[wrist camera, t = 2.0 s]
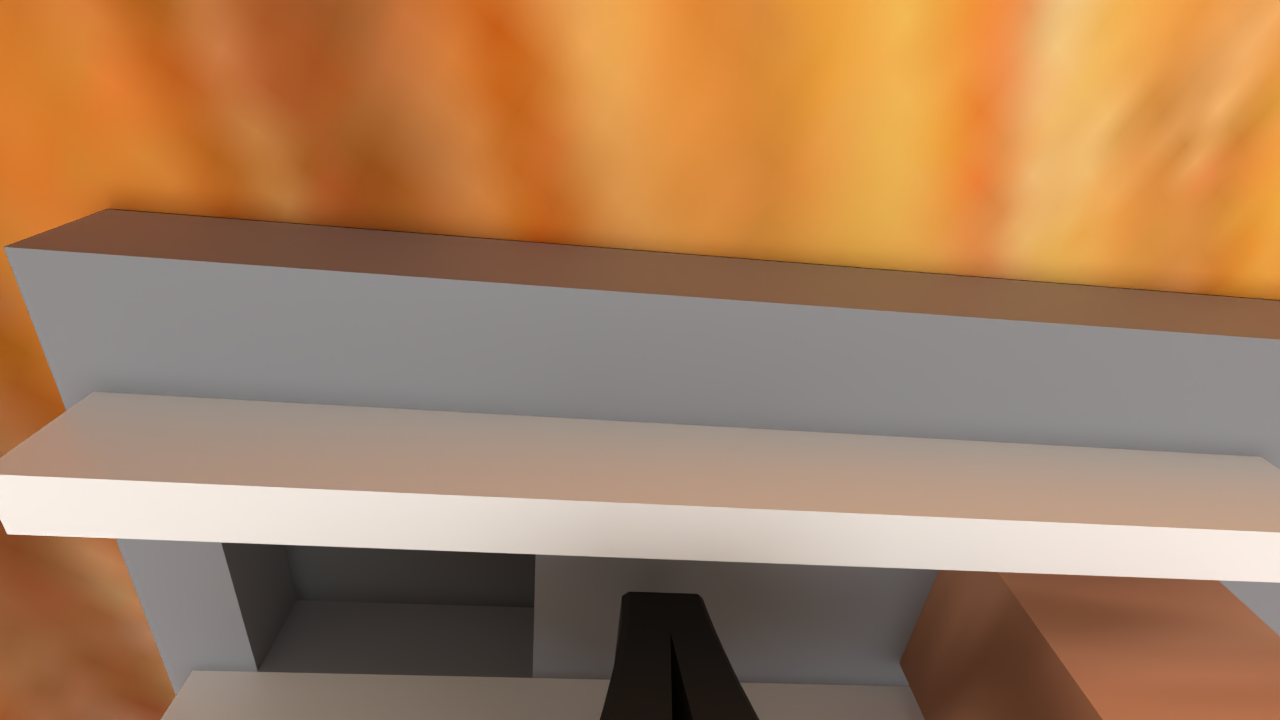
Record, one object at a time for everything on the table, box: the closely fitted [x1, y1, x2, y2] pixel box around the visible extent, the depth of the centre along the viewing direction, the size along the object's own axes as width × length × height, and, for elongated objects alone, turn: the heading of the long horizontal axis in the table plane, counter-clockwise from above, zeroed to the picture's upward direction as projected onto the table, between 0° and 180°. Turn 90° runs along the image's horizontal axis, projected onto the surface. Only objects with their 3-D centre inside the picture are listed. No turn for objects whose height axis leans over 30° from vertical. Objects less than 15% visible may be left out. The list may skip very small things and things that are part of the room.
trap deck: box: [4, 209, 1280, 695], centre depth 13 cm, size 12×28×2 cm, turn 85°
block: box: [899, 570, 1280, 720], centre depth 11 cm, size 4×4×4 cm
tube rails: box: [0, 392, 1280, 720], centre depth 11 cm, size 8×20×2 cm, turn 85°
